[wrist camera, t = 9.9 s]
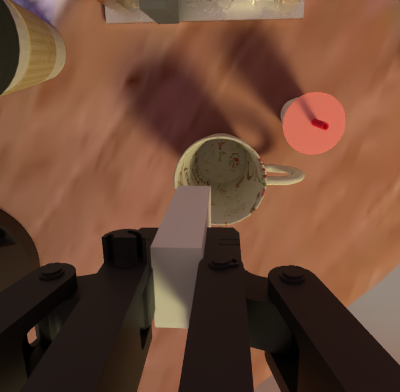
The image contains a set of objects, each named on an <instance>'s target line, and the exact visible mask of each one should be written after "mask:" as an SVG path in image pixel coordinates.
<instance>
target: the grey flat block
mask: <svg viewBox="0 0 400 392" xmlns="http://www.w3.org/2000/svg"><path fill="white" fill-rule="evenodd" d="M139 6H140V10H141V11H142V12H144V13H145V14H146V15H147V16H149V17H150V18H151V19H153V20H154V21H155V22H157V23H158V24H176V23H179V8H178V0H139Z"/></svg>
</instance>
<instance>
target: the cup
mask: <svg viewBox="0 0 400 392" xmlns="http://www.w3.org/2000/svg"><path fill="white" fill-rule="evenodd" d="M280 117H281V122H282V125H283V133H284V136H285V138H286V140H287V142H288V143H289V145H290V146H291V147H292V148H294V149H295V150H297V151H299V152H301V153H304V154H311V155H312V154H320V153H323V152H325V151H327V150H329V149H331V148H332V147H333V146H335V145H336V144H337V142H338V141H339V140H340V138H341V137H342V135H343V133H344V130H345V125H346V116H345V112H344V109H343V107H342V105H341V104H340V102H339V101H338V100H337V99H336V98H334V97H333V96H331V95H329V94H326V93H323V92H311V93H307V94H304V95H302V96H300V97H297V98H294V99H291V100H289V101H288V102H286V103H285V104H284V106H283V107H282V110H281V114H280Z"/></svg>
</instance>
